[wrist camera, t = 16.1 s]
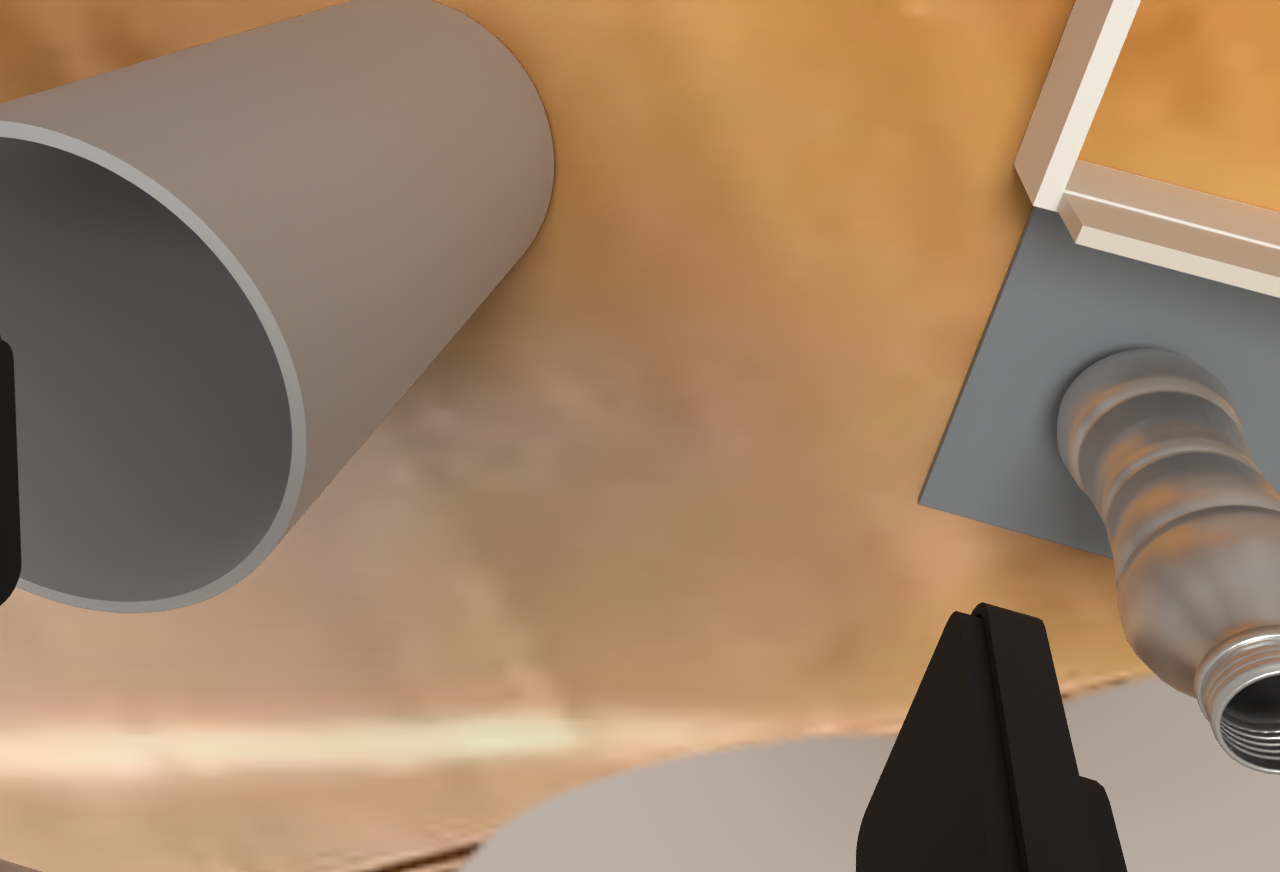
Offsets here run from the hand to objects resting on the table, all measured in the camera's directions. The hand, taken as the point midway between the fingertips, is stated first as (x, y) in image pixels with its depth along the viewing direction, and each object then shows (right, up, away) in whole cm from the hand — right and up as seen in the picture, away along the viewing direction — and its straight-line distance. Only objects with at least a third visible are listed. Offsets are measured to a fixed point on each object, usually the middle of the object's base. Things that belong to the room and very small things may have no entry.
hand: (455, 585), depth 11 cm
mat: (+23, +3, +38) cm, 44 cm away
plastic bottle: (+22, +3, +37) cm, 44 cm away
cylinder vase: (-8, +14, +38) cm, 41 cm away
